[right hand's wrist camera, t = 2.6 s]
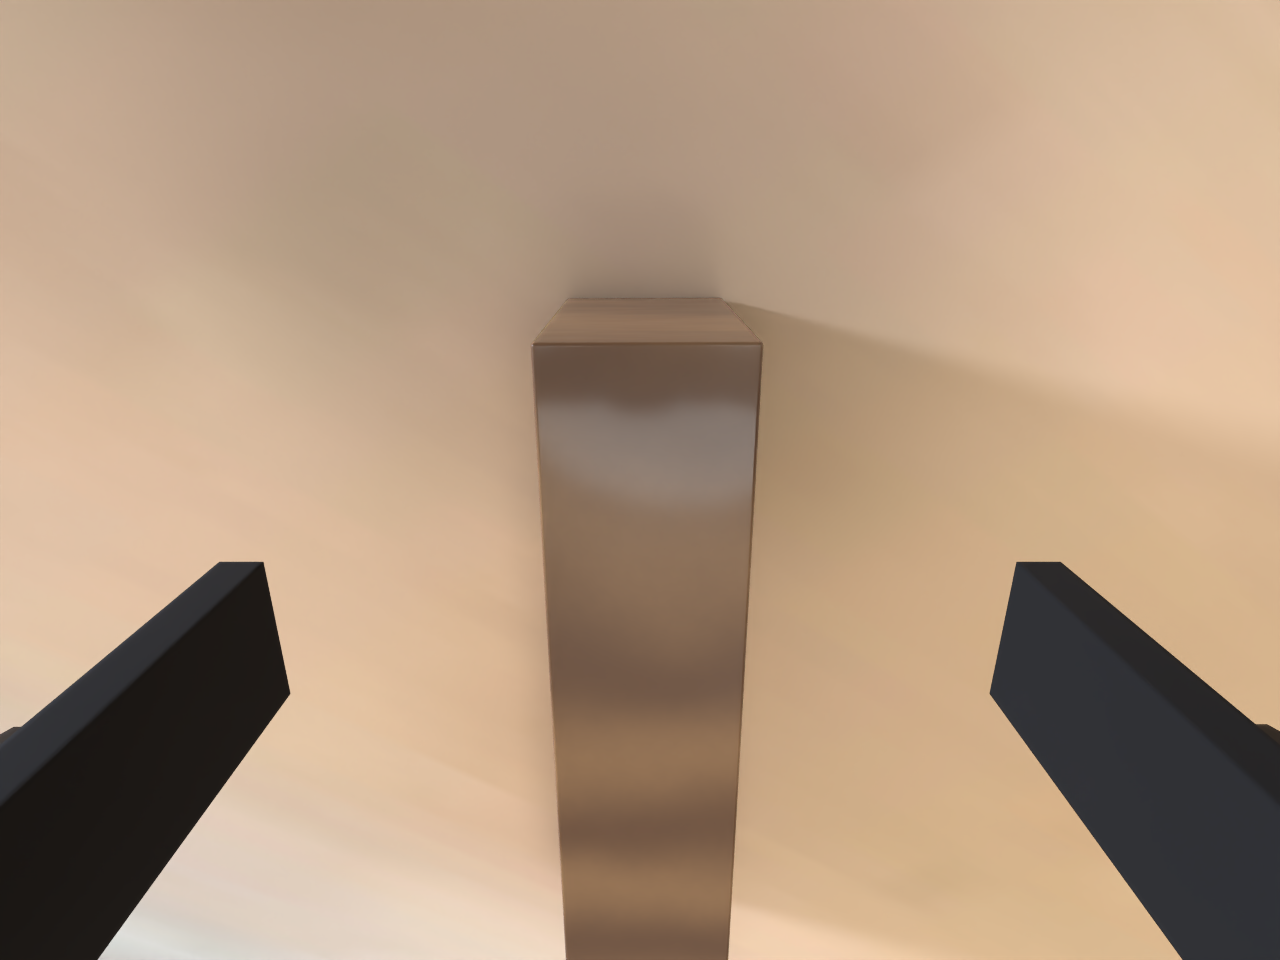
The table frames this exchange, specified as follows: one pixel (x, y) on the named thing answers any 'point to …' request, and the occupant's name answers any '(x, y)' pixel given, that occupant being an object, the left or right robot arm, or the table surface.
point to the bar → (647, 612)
